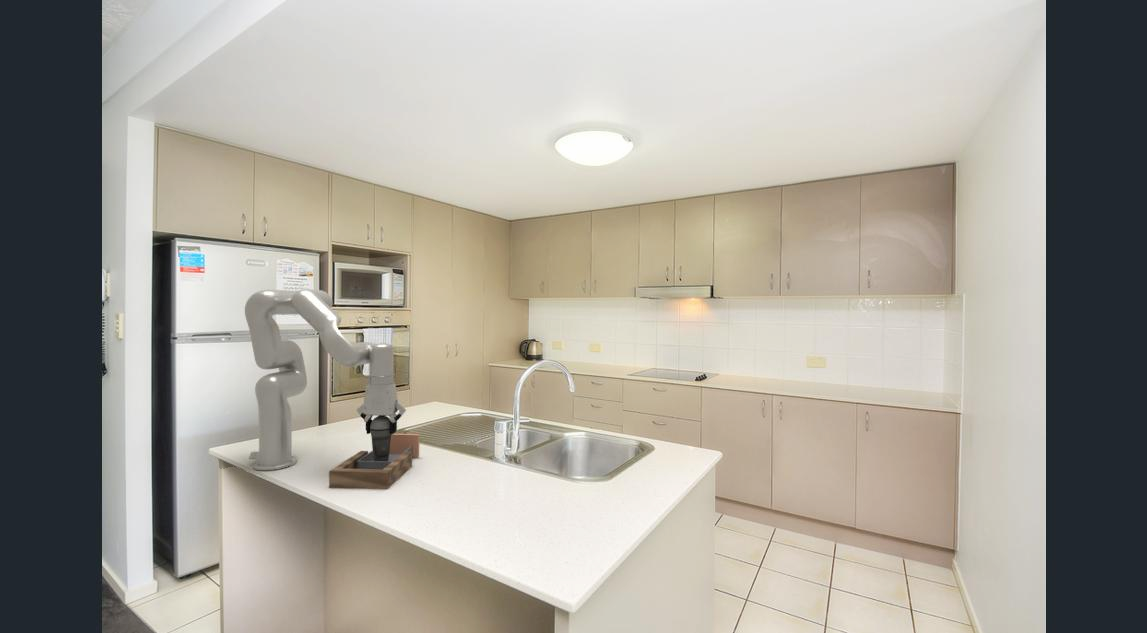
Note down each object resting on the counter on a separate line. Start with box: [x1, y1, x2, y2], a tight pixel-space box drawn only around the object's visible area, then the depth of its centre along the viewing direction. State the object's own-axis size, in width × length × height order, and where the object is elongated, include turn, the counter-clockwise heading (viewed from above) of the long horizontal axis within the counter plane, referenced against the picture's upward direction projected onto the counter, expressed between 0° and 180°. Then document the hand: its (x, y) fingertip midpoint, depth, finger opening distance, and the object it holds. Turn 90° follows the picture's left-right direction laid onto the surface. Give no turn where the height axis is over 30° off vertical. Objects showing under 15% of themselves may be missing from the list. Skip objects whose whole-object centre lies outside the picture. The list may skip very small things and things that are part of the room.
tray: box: [356, 433, 420, 470], centre depth 163 cm, size 19×16×8 cm
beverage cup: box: [370, 416, 391, 461], centre depth 159 cm, size 7×7×20 cm
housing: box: [328, 450, 413, 490], centre depth 153 cm, size 20×18×5 cm
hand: (381, 432), depth 159 cm, fingers closed on beverage cup, 7 cm apart
